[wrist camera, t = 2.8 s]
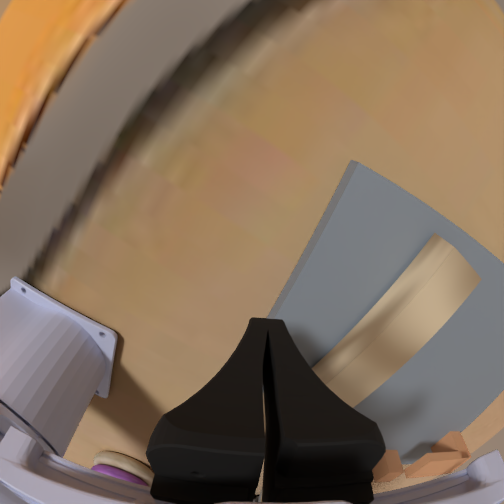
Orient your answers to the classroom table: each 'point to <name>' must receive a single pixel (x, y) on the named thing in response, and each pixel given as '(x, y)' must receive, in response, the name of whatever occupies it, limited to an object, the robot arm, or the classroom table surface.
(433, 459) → the keeper
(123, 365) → the classroom table surface
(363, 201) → the board
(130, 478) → the stacking toy
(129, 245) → the classroom table surface
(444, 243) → the link
